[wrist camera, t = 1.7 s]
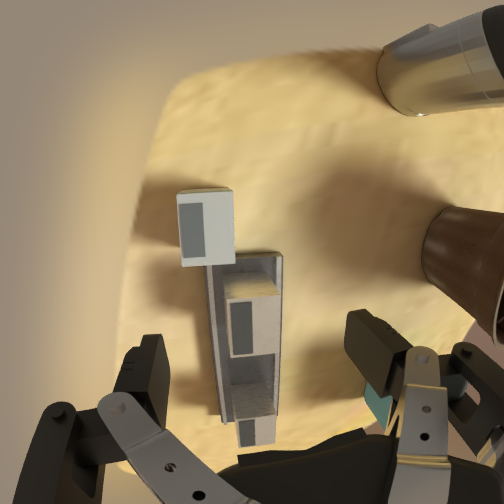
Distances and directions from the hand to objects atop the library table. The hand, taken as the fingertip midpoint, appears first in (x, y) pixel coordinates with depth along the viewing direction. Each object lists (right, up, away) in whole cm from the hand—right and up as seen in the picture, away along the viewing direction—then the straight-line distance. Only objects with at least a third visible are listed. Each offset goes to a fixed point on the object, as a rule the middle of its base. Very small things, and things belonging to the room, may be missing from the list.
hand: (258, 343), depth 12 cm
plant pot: (+28, +4, +23) cm, 37 cm away
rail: (-1, -8, +22) cm, 23 cm away
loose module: (-5, +7, +17) cm, 19 cm away
